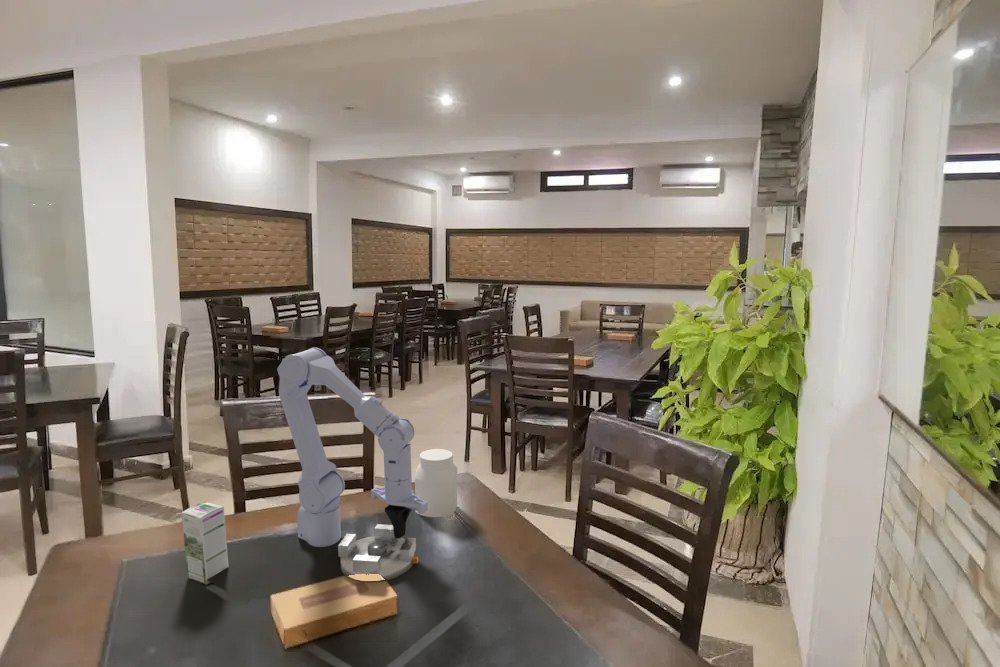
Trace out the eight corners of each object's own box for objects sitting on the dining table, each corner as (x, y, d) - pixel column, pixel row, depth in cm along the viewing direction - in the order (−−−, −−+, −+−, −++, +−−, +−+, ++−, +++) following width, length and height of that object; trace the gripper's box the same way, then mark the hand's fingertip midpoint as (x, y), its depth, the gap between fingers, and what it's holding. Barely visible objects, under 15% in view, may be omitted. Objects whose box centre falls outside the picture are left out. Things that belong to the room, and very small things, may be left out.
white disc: (329, 579, 117) (328, 558, 116) (356, 541, 132) (355, 522, 131) (407, 585, 115) (407, 563, 115) (426, 546, 130) (426, 527, 129)
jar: (451, 522, 144) (451, 463, 141) (412, 520, 144) (411, 462, 142) (459, 502, 155) (458, 447, 153) (423, 500, 156) (422, 446, 154)
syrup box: (230, 571, 122) (225, 505, 120) (205, 586, 117) (200, 517, 114) (210, 565, 124) (206, 499, 122) (185, 579, 119) (180, 511, 117)
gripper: (436, 477, 126) (437, 537, 128) (385, 463, 134) (387, 520, 136) (414, 488, 120) (416, 551, 122) (363, 474, 128) (365, 533, 130)
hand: (399, 536), depth 128 cm, fingers closed, pressing on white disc
